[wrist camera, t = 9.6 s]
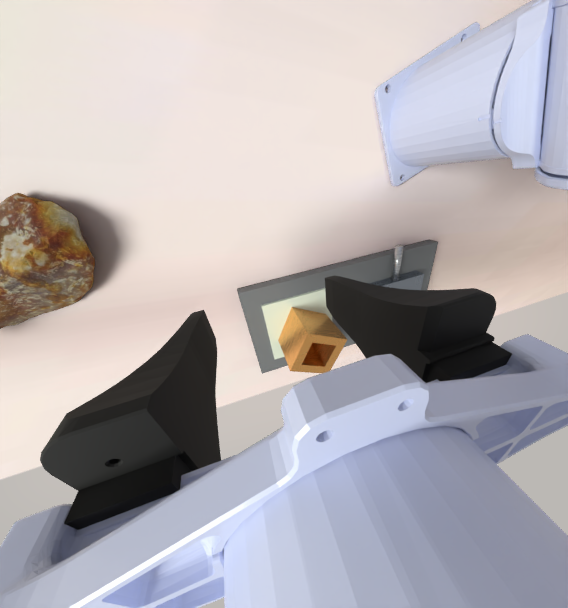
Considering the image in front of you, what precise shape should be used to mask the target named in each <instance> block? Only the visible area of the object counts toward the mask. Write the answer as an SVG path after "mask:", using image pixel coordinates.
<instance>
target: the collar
mask: <svg viewBox="0 0 568 608" xmlns="http://www.w3.org/2000/svg"><path fill="white" fill-rule="evenodd" d="M278 341H279V344H280V346H281V349H282V351H283V354H284V356H285V359H286V361H287V364H288V366H289V369H290V371H297V372H312V373H325V372H328V371H330V370H331V368H332V366H333V364H334V363H335V361H336V359H337V357H338V356H339V354H340V352H341V350H342V348H343V347H344V345H345V343H346V341H347V338H346V337H345V336H344V335H343V334H342V332H341V331H340V330H339V329H338V328H337V326H336V325H335V324H334V323H333V322H332V321H331V319H330V318H329V317H328V316H327V315H326V314H324V313H319V312H314V311H309V310H304V309H299V308H294V307H291V310H290V312H289V315H288V317H287V320H286V322H285V325H284V327H283V330H282V332H281V334H280V337H279V339H278Z"/></svg>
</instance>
